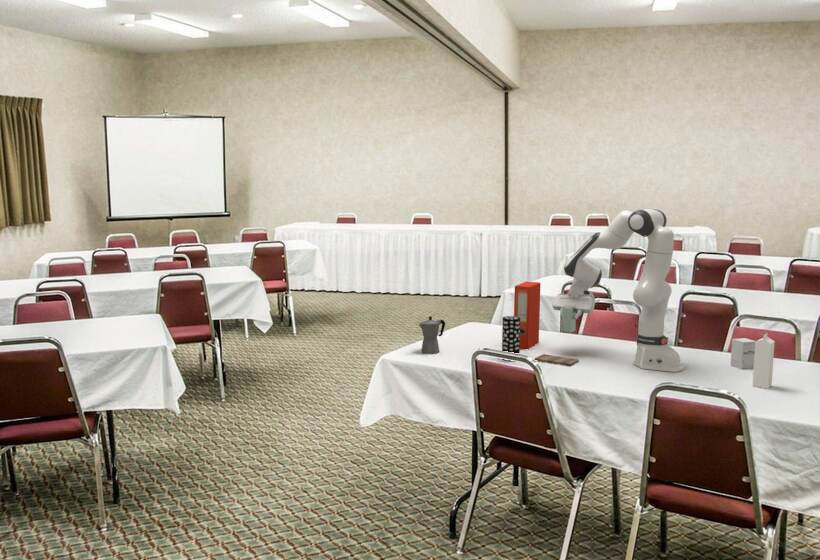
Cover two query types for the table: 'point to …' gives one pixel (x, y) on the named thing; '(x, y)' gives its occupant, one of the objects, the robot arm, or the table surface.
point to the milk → (763, 362)
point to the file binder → (528, 312)
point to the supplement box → (743, 353)
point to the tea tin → (568, 318)
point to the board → (557, 360)
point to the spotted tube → (511, 334)
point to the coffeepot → (431, 335)
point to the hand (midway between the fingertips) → (568, 317)
